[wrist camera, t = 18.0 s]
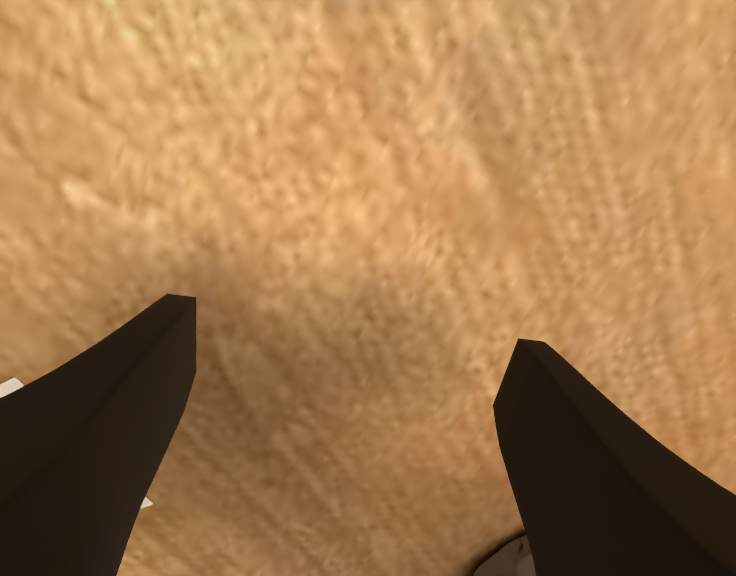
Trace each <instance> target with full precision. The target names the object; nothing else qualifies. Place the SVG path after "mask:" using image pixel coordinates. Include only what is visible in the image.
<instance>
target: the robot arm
mask: <svg viewBox="0 0 736 576" xmlns="http://www.w3.org/2000/svg"><path fill="white" fill-rule="evenodd" d="M195 374H196V297H188V296H181V295H173V294H166V295H165V296H163V297H162V298H160V299H159V300H158V301H156V302H155V303H153V304H152V305H151V306H149V307H148V308H146V309H145V310H144V311H142V312H141V313H140V314H138V315H137V316H135V317H134V318H133V319H131V320H130V321H129V322H127V323H126V324H124V325H123V326H122V327H120V328H119V329H117V330H116V331H114V332H113V333H111V334H110V335H109V336H107V337H106V338H104V339H103V340H101V341H100V342H98V343H97V344H95V345H94V346H92V347H91V348H89V349H87V350H86V351H84V352H83V353H81V354H79V355H78V356H76V357H75V358H73V359H71V360H70V361H68V362H67V363H65V364H63V365H62V366H60V367H58V368H57V369H55V370H53V371H51V372H50V373H48V374H46V375H44V376H42V377H41V378H39V379H37V380H35V381H33V382H31V383H29V384H27V385H25V386H23V387H21V388H19V389H18V390H16V391H14V392H12V393H10V394H8V395H6V396H3V397H1V398H0V576H116V575H117V572H118V569H119V566H120V563H121V560H122V557H123V554H124V551H125V548H126V545H127V542H128V540H129V537H130V534H131V531H132V528H133V525H134V522H135V520H136V517H137V515H138V512H139V510H140V507H141V505H142V503H143V500H144V498H145V496H146V494H147V492H148V489H149V487H150V485H151V483H152V481H153V478H154V476H155V474H156V472H157V470H158V468H159V465H160V463H161V461H162V459H163V457H164V455H165V452H166V450H167V448H168V446H169V444H170V441H171V439H172V437H173V435H174V433H175V430H176V428H177V426H178V424H179V422H180V419H181V417H182V415H183V412H184V410H185V407H186V403H187V400H188V397H189V394H190V391H191V387H192V384H193V381H194V377H195ZM493 408H494V416H495V423H496V429H497V435H498V441H499V446H500V449H501V453H502V456H503V460H504V463H505V466H506V470H507V473H508V476H509V480H510V483H511V486H512V489H513V493H514V496H515V499H516V502H517V506H518V509H519V512H520V515H521V518H522V522H523V525H524V528H525V531H526V535H527V538H528V542H529V546H530V550H531V553H532V557H533V562H534V567H535V572H536V576H736V495H734V494H733V493H731V492H730V491H728V490H726V489H725V488H723V487H722V486H720V485H719V484H717V483H716V482H714V481H713V480H711V479H710V478H708V477H707V476H705V475H704V474H702V473H701V472H699V471H698V470H696V469H695V468H694V467H692V466H691V465H690V464H688V463H687V462H685V461H684V460H683V459H681V458H680V457H678V456H677V455H676V454H674V453H673V452H672V451H670V450H669V449H667V448H666V447H665V446H664V445H662V444H661V443H660V442H658V441H657V440H656V439H655V438H653V437H652V436H651V435H650V434H648V433H647V432H646V431H645V430H644V429H642V428H641V427H640V426H639V425H637V424H636V423H635V422H634V421H633V420H631V419H630V418H629V417H628V416H627V415H626V414H624V413H623V412H622V411H621V410H620V409H619V408H617V407H616V406H615V405H614V404H613V403H612V402H611V401H610V400H608V399H607V398H606V397H605V396H604V395H603V394H602V393H601V392H600V391H599V390H597V389H596V388H595V387H594V386H593V385H592V384H591V383H590V382H589V381H588V380H587V379H585V378H584V377H583V376H582V375H581V374H580V373H579V372H578V371H577V370H576V369H575V368H574V367H573V366H571V365H570V364H569V363H568V362H567V361H566V360H565V359H564V358H563V357H562V356H561V355H559V354H558V353H557V352H556V351H555V350H554V349H553V348H551V347H550V346H549V345H548V344H546V343H545V342H542V341H534V340H526V339H518V341H517V344H516V346H515V349H514V351H513V354H512V357H511V359H510V362H509V365H508V367H507V370H506V372H505V375H504V378H503V380H502V383H501V386H500V388H499V391H498V393H497V396H496V399H495V401H494V404H493Z"/></svg>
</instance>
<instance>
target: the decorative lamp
mask: <svg viewBox="0 0 736 576" xmlns="http://www.w3.org/2000/svg"><path fill="white" fill-rule="evenodd" d="M473 576H536V572H535V567H534V562H533V557H532V553H531V550H530V546H529V542H528V538H527V535H523V536H521V537H519V538H517V539H515V540H512V541H510V542H509V543H508V544H506V545H505V546H504V547H503V548H501V549H500V550H499V551H498V552H496V553H495V554H494V555H493V556H491V557H490V558H489V559H487V560H486V561H485V562H484V563H482V564H481V565H480V566H479V567H478V569H477V570H476V571H475V573H474V575H473Z"/></svg>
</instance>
